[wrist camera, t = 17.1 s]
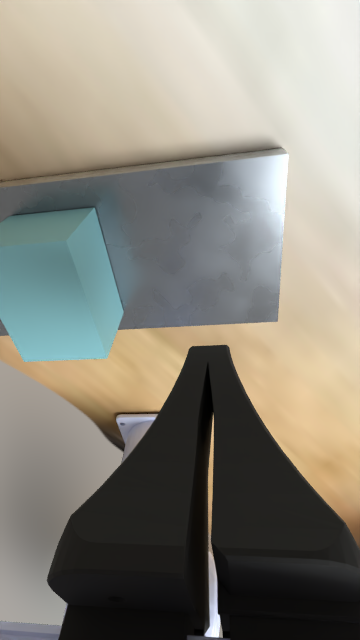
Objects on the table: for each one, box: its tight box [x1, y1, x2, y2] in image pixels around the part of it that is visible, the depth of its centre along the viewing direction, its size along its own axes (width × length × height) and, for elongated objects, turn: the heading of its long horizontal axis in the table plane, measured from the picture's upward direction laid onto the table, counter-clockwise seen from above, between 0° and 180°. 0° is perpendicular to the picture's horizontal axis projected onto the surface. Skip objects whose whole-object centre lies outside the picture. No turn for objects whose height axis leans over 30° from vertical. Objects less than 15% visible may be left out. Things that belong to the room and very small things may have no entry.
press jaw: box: [0, 207, 124, 362], centre depth 18 cm, size 7×5×4 cm
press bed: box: [0, 148, 288, 336], centre depth 20 cm, size 10×26×4 cm, turn 97°
